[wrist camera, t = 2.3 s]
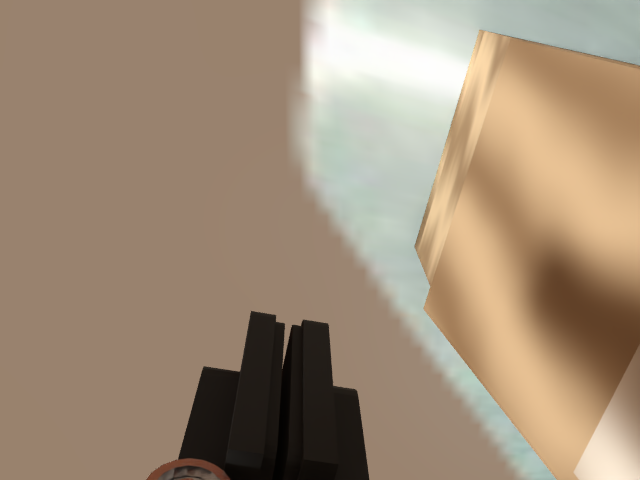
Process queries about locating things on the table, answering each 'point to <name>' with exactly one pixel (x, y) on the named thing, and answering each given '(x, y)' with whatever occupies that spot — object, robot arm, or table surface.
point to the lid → (553, 260)
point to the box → (464, 143)
